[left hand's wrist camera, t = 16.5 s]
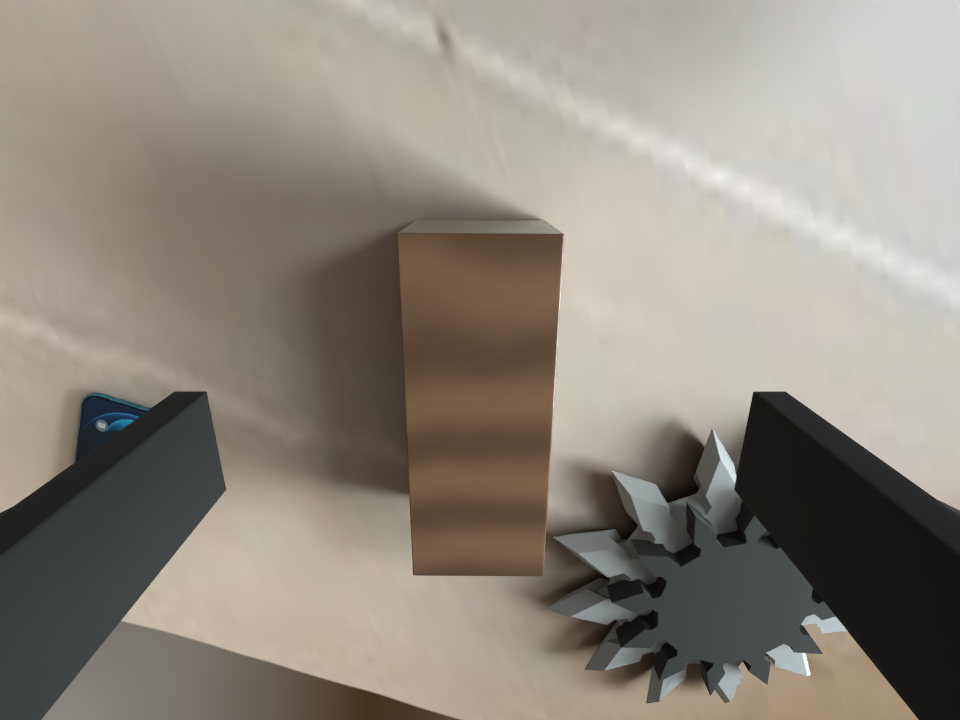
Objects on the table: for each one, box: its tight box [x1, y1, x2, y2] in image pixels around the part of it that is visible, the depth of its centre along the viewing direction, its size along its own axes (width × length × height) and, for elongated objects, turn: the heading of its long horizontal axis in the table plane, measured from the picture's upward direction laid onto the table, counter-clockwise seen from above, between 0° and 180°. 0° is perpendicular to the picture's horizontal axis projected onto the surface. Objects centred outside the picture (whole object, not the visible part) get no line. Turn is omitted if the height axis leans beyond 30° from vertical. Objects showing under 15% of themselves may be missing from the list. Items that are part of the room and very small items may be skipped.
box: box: [397, 219, 564, 576], centre depth 34 cm, size 22×9×9 cm, turn 0°
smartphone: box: [74, 393, 150, 463], centre depth 41 cm, size 8×1×15 cm
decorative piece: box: [546, 428, 847, 703], centre depth 42 cm, size 30×4×30 cm
